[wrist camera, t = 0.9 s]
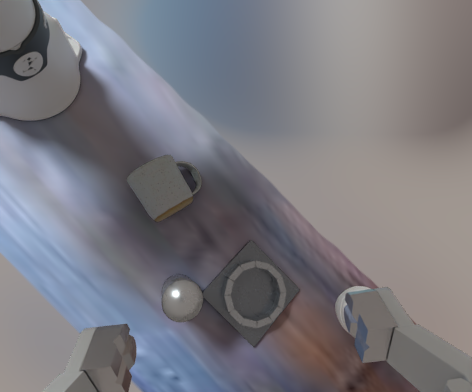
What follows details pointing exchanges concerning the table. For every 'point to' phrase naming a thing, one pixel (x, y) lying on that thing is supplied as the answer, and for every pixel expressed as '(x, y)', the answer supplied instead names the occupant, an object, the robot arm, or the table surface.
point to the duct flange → (250, 292)
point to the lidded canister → (181, 298)
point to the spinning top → (342, 303)
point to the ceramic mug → (163, 186)
